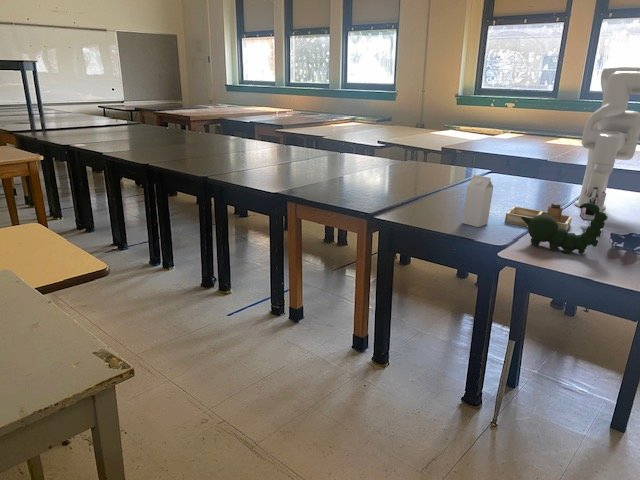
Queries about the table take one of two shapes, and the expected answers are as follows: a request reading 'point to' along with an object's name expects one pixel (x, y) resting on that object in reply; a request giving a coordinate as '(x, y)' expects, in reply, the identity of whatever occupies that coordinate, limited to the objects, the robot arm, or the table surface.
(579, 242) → the toy figurine
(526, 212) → the box
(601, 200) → the supplement box
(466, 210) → the milk carton
